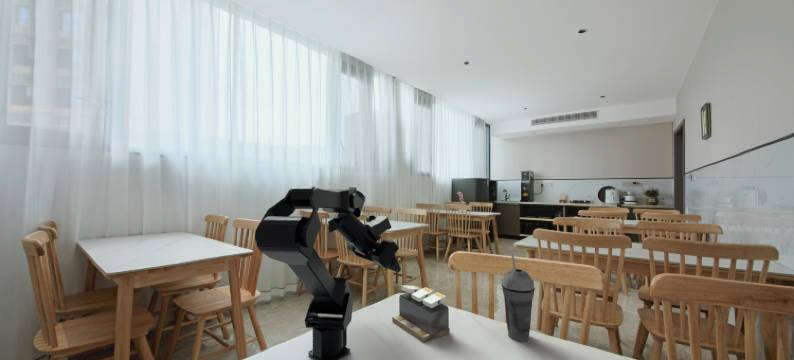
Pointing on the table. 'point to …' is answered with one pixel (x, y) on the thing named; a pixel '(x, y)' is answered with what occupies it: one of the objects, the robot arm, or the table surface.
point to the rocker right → (434, 300)
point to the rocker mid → (422, 294)
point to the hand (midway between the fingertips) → (390, 266)
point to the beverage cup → (518, 302)
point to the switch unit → (422, 318)
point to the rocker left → (410, 289)
